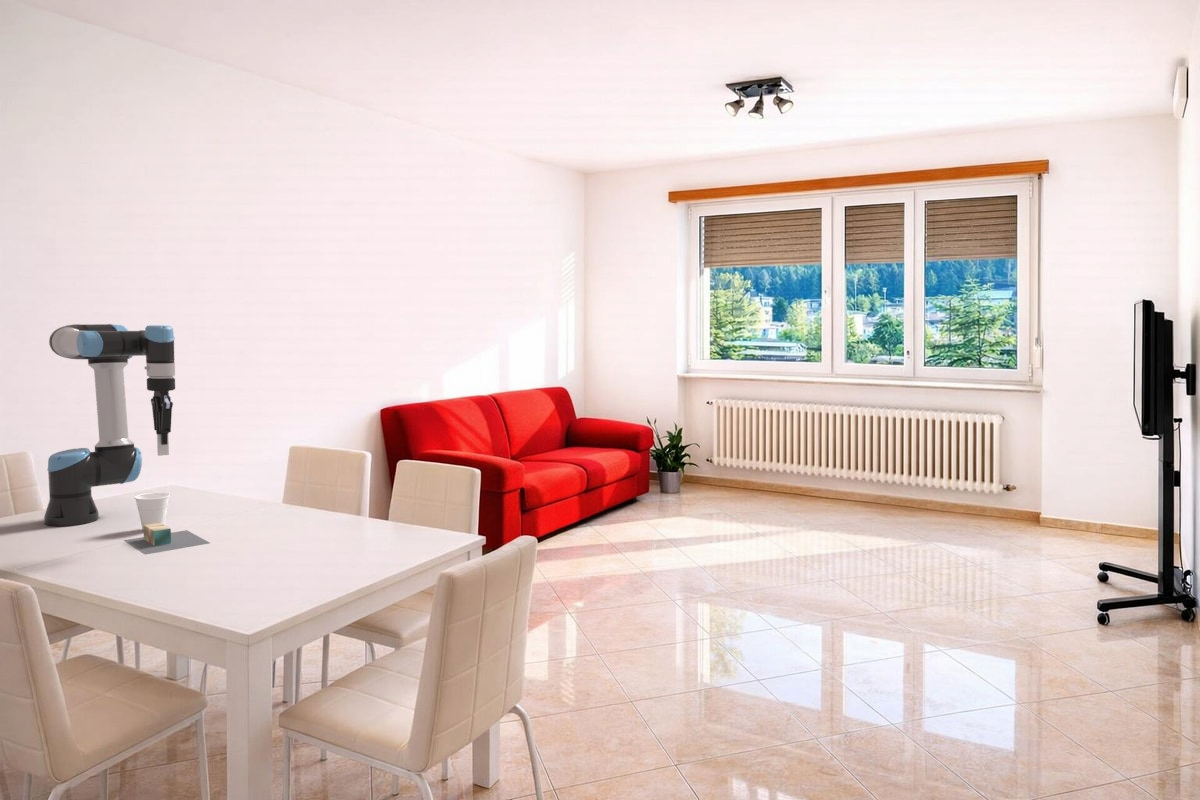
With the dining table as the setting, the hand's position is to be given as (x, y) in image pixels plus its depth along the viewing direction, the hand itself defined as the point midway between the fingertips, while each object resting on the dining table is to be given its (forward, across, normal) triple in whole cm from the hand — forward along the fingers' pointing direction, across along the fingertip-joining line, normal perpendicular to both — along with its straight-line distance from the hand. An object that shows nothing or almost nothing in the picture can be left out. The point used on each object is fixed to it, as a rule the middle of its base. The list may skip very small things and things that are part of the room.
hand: (163, 454), depth 251 cm
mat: (+26, +4, -1) cm, 27 cm away
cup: (+27, -15, +1) cm, 30 cm away
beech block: (+24, +7, -3) cm, 25 cm away
